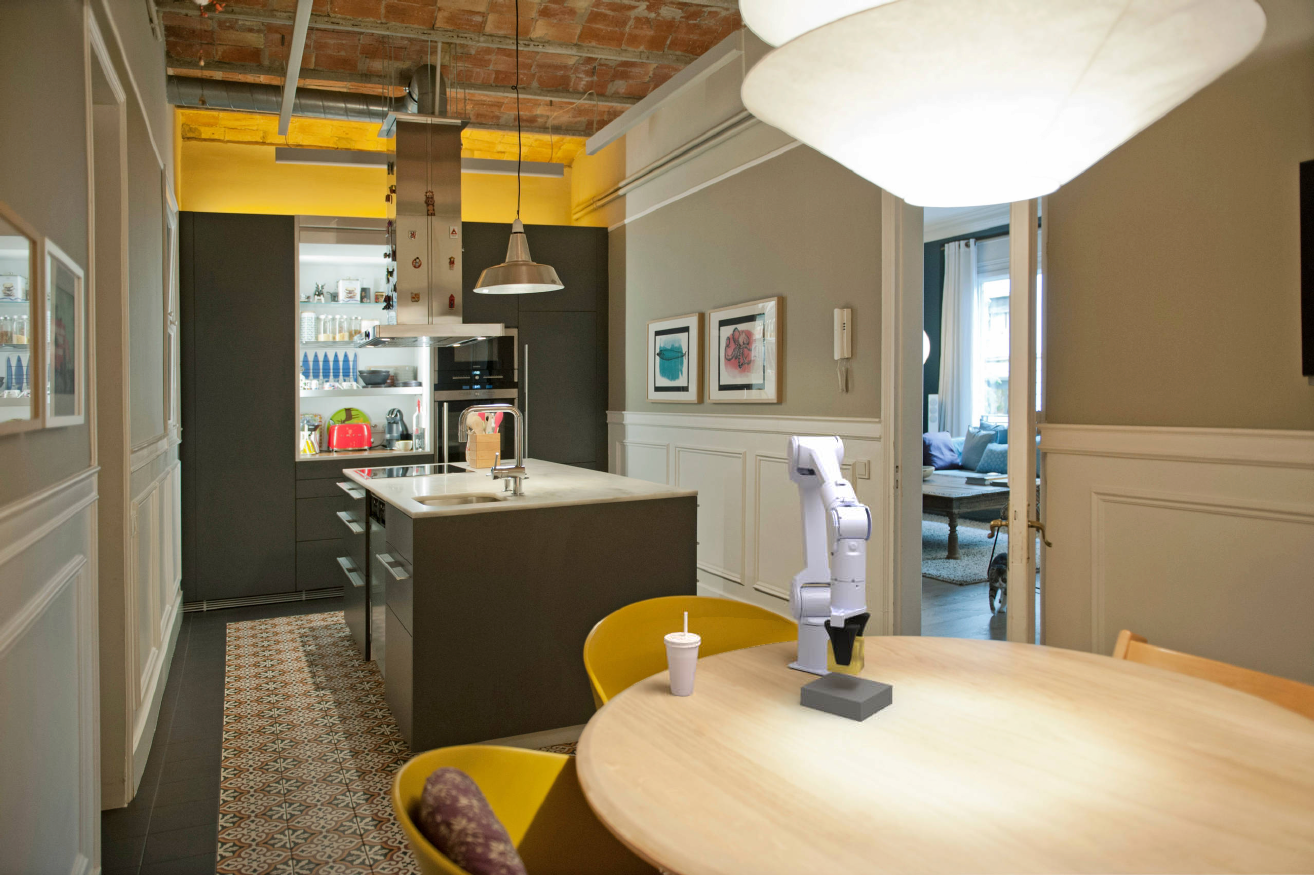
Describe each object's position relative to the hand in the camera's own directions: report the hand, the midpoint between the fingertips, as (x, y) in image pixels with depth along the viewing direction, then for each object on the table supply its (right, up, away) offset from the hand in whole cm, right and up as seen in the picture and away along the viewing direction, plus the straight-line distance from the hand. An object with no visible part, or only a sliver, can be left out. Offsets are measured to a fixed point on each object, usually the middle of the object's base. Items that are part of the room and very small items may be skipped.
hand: (847, 660), depth 139 cm
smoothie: (-27, -7, +6) cm, 29 cm away
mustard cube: (0, -2, 0) cm, 2 cm away
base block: (0, -8, 0) cm, 8 cm away
